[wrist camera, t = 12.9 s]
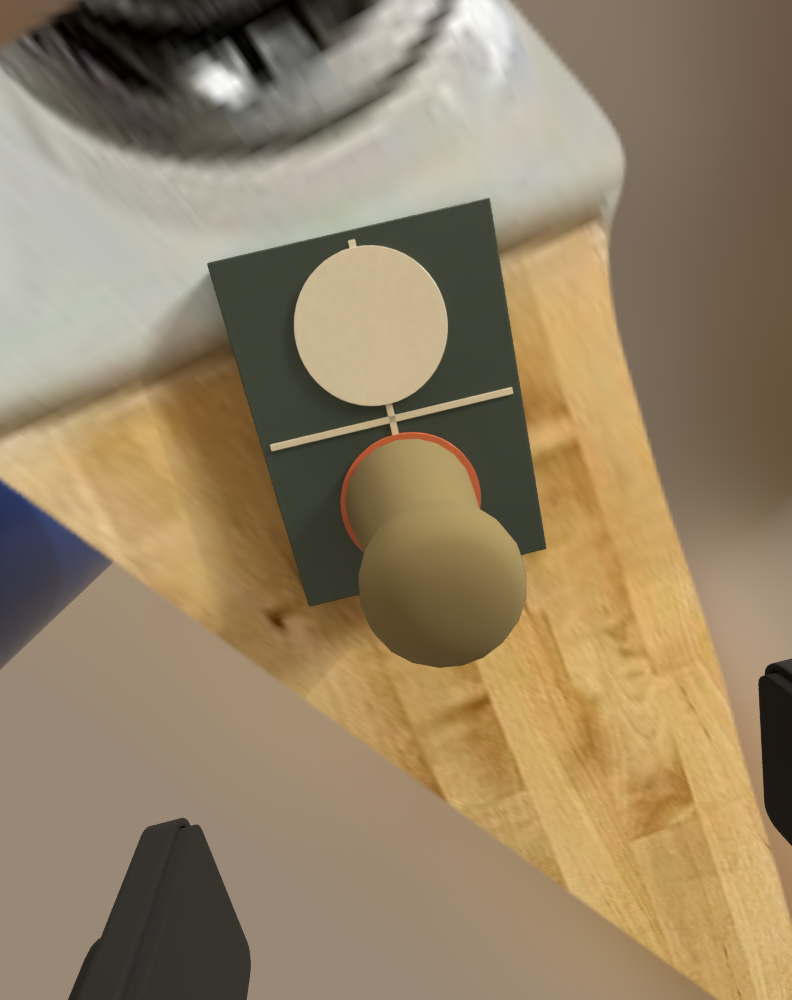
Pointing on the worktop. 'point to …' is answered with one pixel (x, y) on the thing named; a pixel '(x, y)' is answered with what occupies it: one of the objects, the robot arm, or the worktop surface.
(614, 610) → the worktop surface
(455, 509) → the cork
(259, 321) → the board
